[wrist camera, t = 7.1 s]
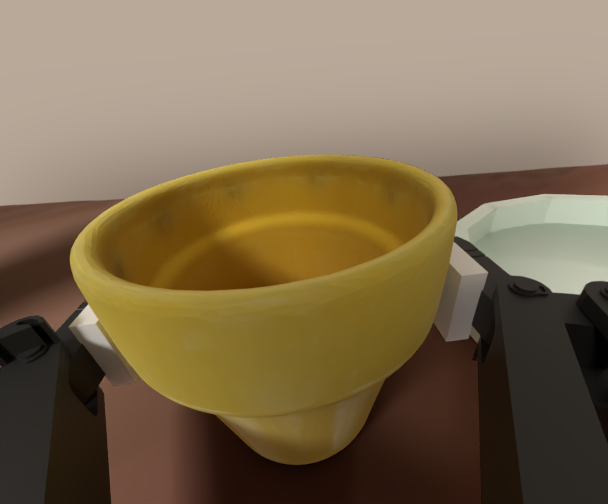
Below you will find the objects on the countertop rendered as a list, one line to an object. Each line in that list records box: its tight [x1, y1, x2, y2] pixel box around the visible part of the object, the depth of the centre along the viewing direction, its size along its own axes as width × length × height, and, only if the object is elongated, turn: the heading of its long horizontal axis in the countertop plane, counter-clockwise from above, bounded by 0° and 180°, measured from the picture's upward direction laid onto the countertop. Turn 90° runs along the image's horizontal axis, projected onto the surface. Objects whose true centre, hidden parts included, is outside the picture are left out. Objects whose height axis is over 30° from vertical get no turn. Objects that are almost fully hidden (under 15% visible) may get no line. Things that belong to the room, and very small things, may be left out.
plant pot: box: [70, 155, 457, 465], centre depth 11 cm, size 10×10×10 cm
